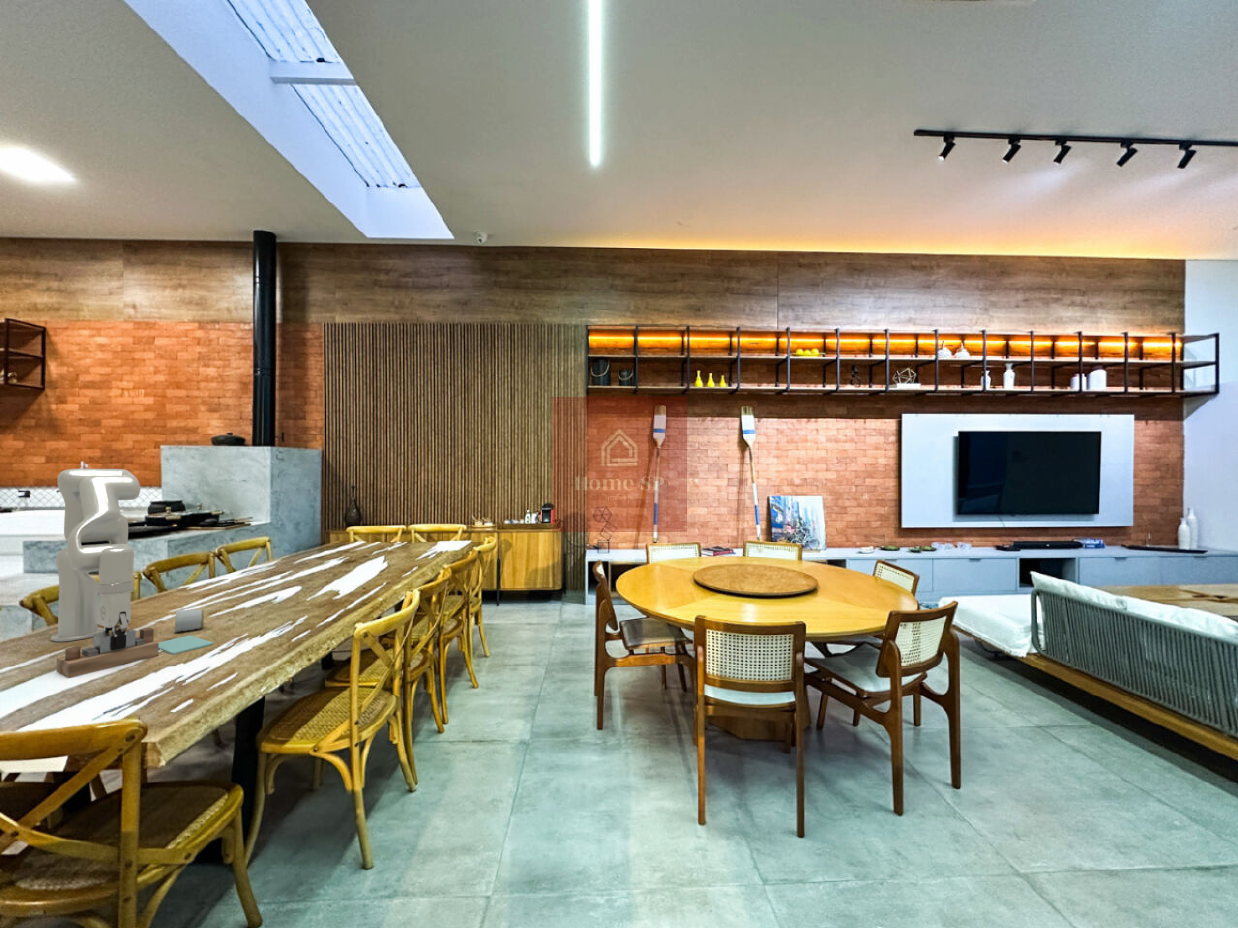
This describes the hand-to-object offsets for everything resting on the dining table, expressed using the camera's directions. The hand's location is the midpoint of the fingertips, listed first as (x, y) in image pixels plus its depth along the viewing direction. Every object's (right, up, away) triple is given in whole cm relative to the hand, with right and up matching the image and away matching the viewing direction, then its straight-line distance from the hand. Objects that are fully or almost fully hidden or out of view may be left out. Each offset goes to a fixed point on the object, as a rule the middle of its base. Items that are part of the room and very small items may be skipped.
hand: (114, 646), depth 155 cm
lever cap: (0, -1, 0) cm, 1 cm away
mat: (+8, -5, +15) cm, 18 cm away
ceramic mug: (-5, -5, +32) cm, 33 cm away
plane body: (-1, -5, -1) cm, 5 cm away
